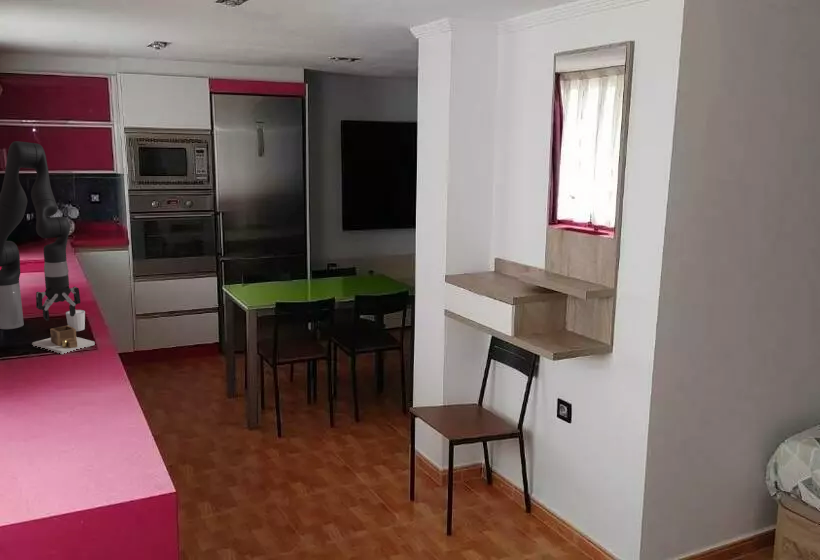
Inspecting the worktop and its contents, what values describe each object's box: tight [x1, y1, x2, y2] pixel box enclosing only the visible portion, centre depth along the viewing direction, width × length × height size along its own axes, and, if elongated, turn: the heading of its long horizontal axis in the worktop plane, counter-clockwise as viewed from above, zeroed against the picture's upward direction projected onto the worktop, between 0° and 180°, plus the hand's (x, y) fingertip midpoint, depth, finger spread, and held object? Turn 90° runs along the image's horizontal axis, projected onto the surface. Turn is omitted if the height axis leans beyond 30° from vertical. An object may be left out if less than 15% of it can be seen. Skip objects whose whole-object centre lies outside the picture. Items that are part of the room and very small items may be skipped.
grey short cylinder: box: [65, 309, 86, 332], centre depth 281 cm, size 7×7×7 cm
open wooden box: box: [49, 324, 77, 348], centre depth 259 cm, size 12×6×5 cm, turn 47°
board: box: [31, 336, 96, 355], centre depth 262 cm, size 17×13×1 cm
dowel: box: [62, 340, 67, 348], centre depth 256 cm, size 2×2×2 cm
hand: (59, 318), depth 260 cm, fingers open, 8 cm apart
